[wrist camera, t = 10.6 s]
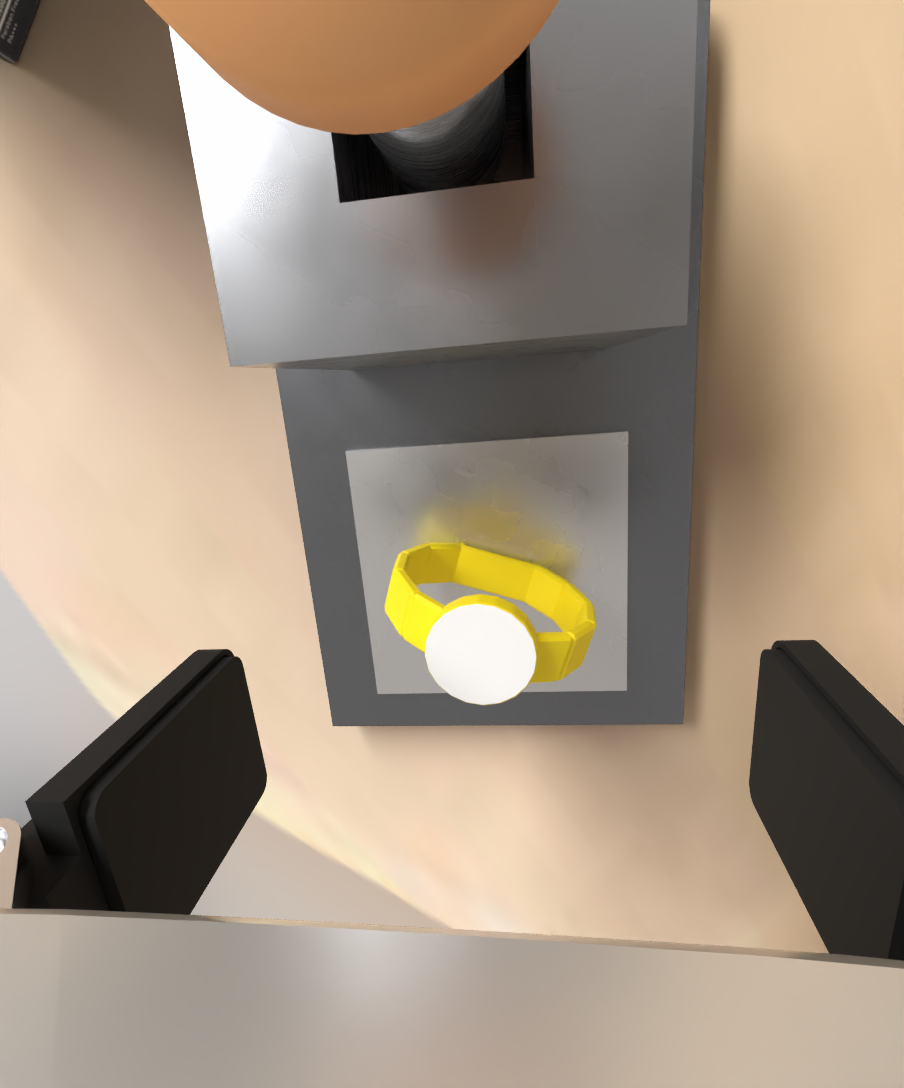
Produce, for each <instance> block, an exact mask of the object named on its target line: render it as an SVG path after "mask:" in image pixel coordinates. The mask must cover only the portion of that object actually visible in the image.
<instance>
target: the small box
mask: <svg viewBox="0 0 904 1088" xmlns="http://www.w3.org/2000/svg"><path fill="white" fill-rule="evenodd" d="M39 1H40V0H0V58H2V59H3V60H5V61H7V62H9V63H13V62H16V61H17V59H18V57H19V54H20V51H21V49H22V46H23V44H24V41H25V38H26V35H27V33H28V30H29V27H30V25H31V23H32V20H33V17H34V14H35V12H36V9H37V6H38V3H39Z"/></svg>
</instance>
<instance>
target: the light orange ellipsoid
mask: <svg viewBox="0 0 904 1088" xmlns="http://www.w3.org/2000/svg"><path fill="white" fill-rule="evenodd" d="M144 1H145V2H146V3H147V4H148V5H149V6H150V7H151V8H152V9H153V10H154V11H155V12H156V13H157V14H158V15H159V16H160V17H161V18H162V19H163V20H164V21H165V22H166V23H167V24H168V25H169V26H170V27H171V28H172V29H173V30H174V31H175V32H176V33H177V34H178V35H179V36H180V37H181V38H182V39H183V40H184V41H185V42H186V43H187V44H188V45H189V46H190V47H191V48H192V49H193V50H194V51H195V52H196V53H197V54H198V55H199V56H200V57H201V58H202V59H203V60H204V61H205V62H206V63H207V64H208V65H209V66H210V67H211V68H212V69H213V70H214V71H215V72H216V73H217V74H218V75H219V76H220V77H221V78H222V79H223V80H224V81H225V82H227V83H228V84H229V85H230V86H232V87H233V88H234V89H235V90H237V91H238V92H239V93H240V94H241V95H243V96H244V97H245V98H247V99H248V100H250V101H252V102H253V103H255V104H257V105H258V106H260V107H262V108H263V109H265V110H267V111H268V112H270V113H272V114H274V115H276V116H279V117H281V118H284V119H286V120H288V121H291V122H293V123H295V124H298V125H301V126H305V127H309V128H313V129H317V130H321V131H325V132H333V133H344V134H355V135H356V134H369V136H370V137H371V139H372V140H373V142H374V144H375V145H376V147H377V149H378V150H379V152H380V154H381V155H382V157H383V158H384V160H385V162H386V163H387V165H388V167H389V168H390V170H391V172H392V173H393V175H394V176H395V178H396V180H397V181H398V183H399V184H400V185H401V187H402V188H403V189H404V190H405V191H406V192H407V193H408V194H415V193H422V192H430V191H438V190H446V189H454V188H462V187H469V186H477V185H485V184H490V183H491V181H492V180H493V178H494V177H495V175H496V173H497V171H498V169H499V167H500V165H501V162H502V159H503V156H504V151H505V146H506V109H505V84H504V71H505V70H506V69H507V68H508V67H509V66H510V65H511V64H512V63H513V62H514V61H515V60H516V59H517V58H518V57H519V56H520V55H521V53H522V52H523V51H524V50H525V48H526V47H527V46H528V45H529V43H530V42H531V41H532V40H533V38H534V37H535V36H536V35H537V33H538V32H539V31H540V30H541V28H542V27H543V26H544V24H545V22H546V21H547V19H548V18H549V16H550V14H551V13H552V11H553V10H554V8H555V6H556V5H557V3H558V2H559V0H144Z"/></svg>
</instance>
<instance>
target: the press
mask: <svg viewBox="0 0 904 1088" xmlns="http://www.w3.org/2000/svg"><path fill="white" fill-rule="evenodd" d="M709 19H710V0H559V2H558V3H557V5H556V6H555V8H554V10H553V11H552V13H551V14H550V16H549V18H548V19H547V21H546V22H545V24H544V26H543V27H542V28H541V30H540V31H539V32H538V33H537V35H536V36H535V37H534V38H533V40H532V41H531V42H530V43H529V45H528V46H527V47H526V48H525V50H524V51H523V52H522V53H521V55H520V56H519V57H518V58H517V59H516V60H515V61H514V62H513V63H512V64H511V65H510V66H509V67H508V68H507V69H506V70H505V71H504V84H505V109H506V146H505V151H504V156H503V159H502V162H501V165H500V167H499V169H498V171H497V173H496V175H495V177H494V178H493V180H492V181H491V183H490V184H485V185H477V186H469V187H462V188H454V189H446V190H438V191H430V192H422V193H415V194H408V193H407V192H406V191H405V190H404V189H403V188H402V187H401V185H400V184H399V183H398V181H397V180H396V178H395V176H394V175H393V173H392V172H391V170H390V168H389V167H388V165H387V163H386V162H385V160H384V158H383V157H382V155H381V154H380V152H379V150H378V149H377V147H376V145H375V144H374V142H373V140H372V139H371V137H370V136H369V134H356V135H355V134H344V133H333V132H325V131H321V130H317V129H313V128H309V127H305V126H301V125H298V124H295V123H293V122H291V121H288V120H286V119H284V118H281V117H279V116H276V115H274V114H272V113H270V112H268V111H267V110H265V109H263V108H262V107H260V106H258V105H257V104H255V103H253V102H252V101H250V100H248V99H247V98H245V97H244V96H243V95H241V94H240V93H239V92H238V91H237V90H235V89H234V88H233V87H232V86H230V85H229V84H228V83H227V82H225V81H224V80H223V79H222V78H221V77H220V76H219V75H218V74H217V73H216V72H215V71H214V70H213V69H212V68H211V67H210V66H209V65H208V64H207V63H206V62H205V61H204V60H203V59H202V58H201V57H200V56H199V55H198V54H197V53H196V52H195V51H194V50H193V49H192V48H191V47H190V46H189V45H188V44H187V43H186V42H185V41H184V40H183V39H182V38H181V37H180V36H179V35H178V34H177V33H176V32H175V31H174V30H173V29H172V28H171V27H170V26H169V28H170V34H171V39H172V45H173V50H174V56H175V61H176V67H177V72H178V78H179V83H180V89H181V95H182V100H183V106H184V111H185V117H186V122H187V128H188V133H189V139H190V144H191V150H192V155H193V161H194V166H195V172H196V177H197V183H198V189H199V194H200V200H201V205H202V211H203V216H204V222H205V227H206V233H207V238H208V244H209V249H210V255H211V260H212V266H213V271H214V277H215V282H216V288H217V294H218V299H219V305H220V310H221V316H222V321H223V327H224V332H225V338H226V343H227V349H228V354H229V360H230V365H231V367H253V368H276V373H277V379H278V385H279V392H280V398H281V404H282V410H283V417H284V423H285V429H286V435H287V442H288V448H289V454H290V460H291V467H292V473H293V479H294V485H295V492H296V498H297V504H298V510H299V517H300V523H301V529H302V535H303V542H304V548H305V554H306V560H307V567H308V573H309V579H310V585H311V592H312V598H313V604H314V610H315V617H316V623H317V629H318V635H319V642H320V648H321V654H322V660H323V667H324V673H325V679H326V686H327V692H328V698H329V704H330V711H331V717H332V723H333V726H440V725H606V724H683V714H684V687H685V660H686V634H687V607H688V580H689V553H690V527H691V500H692V473H693V447H694V420H695V393H696V366H697V340H698V313H699V286H700V259H701V233H702V206H703V179H704V153H705V126H706V99H707V72H708V46H709ZM460 542H462V543H465V545H466V546H470V547H474V548H477V549H481V550H485V551H488V552H492V553H496V554H499V555H503V556H507V557H510V558H514V559H518V560H522V561H525V562H529V563H533V564H536V565H541V566H543V567H545V568H547V569H548V570H550V571H552V572H554V573H555V574H557V575H559V576H561V577H563V578H564V579H566V580H568V581H569V583H572V584H573V585H574V586H575V587H576V588H577V589H578V590H579V591H580V592H581V593H582V594H583V595H584V596H585V597H586V598H587V599H589V600H590V601H591V603H592V605H593V606H594V609H595V616H596V624H597V626H596V628H595V631H594V634H593V636H592V639H591V642H590V644H589V647H588V650H587V652H586V655H585V658H584V660H583V663H582V665H581V666H580V667H578V668H577V669H576V670H574V671H573V672H571V673H570V674H569V675H567V676H566V677H564V678H563V679H561V680H557V681H554V682H541V683H529V685H528V686H527V687H526V688H525V689H524V690H523V691H522V692H521V693H519V694H518V695H517V696H516V697H514V698H512V699H509V700H507V701H505V702H502V703H499V704H490V705H479V704H472V703H467V702H464V701H462V700H460V699H458V698H455V697H453V696H451V695H450V694H448V693H447V692H446V691H445V690H444V689H443V688H441V687H440V686H439V685H438V684H437V683H436V681H435V679H434V678H433V676H432V675H431V673H430V672H429V669H428V666H427V662H426V658H425V653H424V652H422V651H421V650H419V649H418V648H416V647H415V646H413V645H412V644H410V643H408V642H407V641H405V639H404V637H401V636H400V634H399V633H398V631H397V630H396V628H395V626H394V625H393V623H392V622H391V620H390V618H389V617H388V615H387V614H386V612H385V608H384V607H385V602H386V598H387V593H388V589H389V585H390V580H391V576H392V572H393V568H394V565H395V562H396V560H397V557H398V554H400V553H401V552H402V551H404V550H407V549H410V548H413V547H416V546H418V545H421V544H424V543H425V544H427V543H459V544H460ZM416 587H417V588H418V589H419V590H420V592H422V593H424V594H425V595H427V596H429V597H431V598H432V599H434V600H436V601H437V602H439V603H441V604H443V605H444V606H446V605H447V604H449V603H451V602H453V601H455V600H457V599H459V598H461V597H463V596H469V595H476V594H484V595H491V596H497V597H500V598H502V599H504V600H506V601H509V602H511V603H513V604H514V605H516V606H517V607H518V608H519V609H520V610H521V611H522V612H523V613H525V614H526V615H527V617H528V618H529V620H530V622H531V624H532V625H533V627H534V629H535V631H536V632H563V631H562V630H561V629H560V628H559V627H558V625H557V624H556V623H555V622H554V620H552V619H550V618H549V617H547V616H545V615H544V614H542V613H541V612H539V611H538V610H536V609H534V608H533V607H531V606H530V605H528V604H526V603H525V602H523V601H519V600H515V599H512V598H508V597H504V596H501V595H497V594H493V593H489V592H486V591H482V590H478V589H475V588H471V587H467V586H464V585H460V584H456V583H453V582H448V583H430V584H419V585H417V586H416Z"/></svg>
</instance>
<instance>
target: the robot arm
mask: <svg viewBox="0 0 904 1088" xmlns="http://www.w3.org/2000/svg"><path fill="white" fill-rule="evenodd" d="M266 782H267V773H266V768H265V763H264V759H263V754H262V750H261V745H260V741H259V736H258V731H257V727H256V722H255V718H254V713H253V709H252V704H251V700H250V695H249V691H248V686H247V682H246V677H245V672H244V668H243V664H242V661H241V660H240V658H238V657H234V655H233V653H232V652H231V651H230V650H228V649H214V650H197V651H196V652H194V653H193V654H192V655H191V656H189V657H188V658H187V659H186V660H185V661H184V662H183V663H182V664H180V665H179V666H178V667H177V668H176V669H175V670H174V671H172V672H171V673H170V674H169V675H168V676H167V677H166V678H165V679H163V680H162V681H161V682H160V683H159V684H158V685H157V686H155V687H154V688H153V689H152V690H151V691H150V692H149V693H148V694H146V695H145V696H144V697H143V698H142V699H141V700H140V701H139V702H137V703H136V704H135V705H134V706H133V707H132V708H131V709H129V710H128V711H127V712H126V713H125V714H124V715H123V716H122V717H120V718H119V719H118V720H117V721H116V722H115V723H114V724H113V725H111V726H110V727H109V728H108V729H107V730H106V731H105V732H103V733H102V734H101V735H100V736H99V737H98V738H97V739H96V740H95V741H93V742H92V743H91V744H90V745H89V746H88V747H87V748H85V749H84V750H83V751H82V752H81V753H80V754H79V755H77V756H76V757H75V758H74V759H73V760H72V761H71V762H70V763H68V764H67V765H66V766H65V767H64V768H63V769H62V770H60V771H59V772H58V773H57V774H56V775H55V776H54V777H53V778H51V779H50V780H49V781H48V782H47V783H46V784H45V785H44V786H42V787H41V788H40V789H39V790H38V791H37V792H36V793H34V794H33V795H32V796H31V797H30V798H29V799H28V800H27V801H25V802H26V804H27V807H28V810H29V812H30V815H31V818H32V819H31V820H30V821H29V822H28V823H27V824H26V825H25V826H24V827H23V828H22V829H21V827H20V825H19V824H18V823H17V822H15V821H14V820H12V819H7V818H0V1088H904V725H903V724H902V723H901V722H899V721H898V720H897V719H896V718H895V717H894V716H893V715H892V714H891V713H890V712H889V711H888V710H887V709H886V708H885V707H884V706H883V705H882V704H881V703H880V702H879V701H878V700H877V699H876V698H875V697H874V696H873V695H872V694H871V693H870V692H869V691H868V690H867V689H866V688H865V687H864V686H862V685H861V684H860V683H859V682H858V681H857V680H856V679H855V678H854V677H853V676H852V675H851V674H850V673H849V672H848V671H847V670H846V669H845V668H844V667H843V666H842V665H841V664H840V663H839V662H838V661H837V660H836V659H835V658H834V657H833V656H832V655H831V654H830V653H829V652H828V651H826V650H825V649H824V648H823V647H822V646H821V645H820V644H819V643H818V642H817V641H815V640H790V641H776V642H774V644H773V646H772V649H765V650H763V651H762V654H761V658H760V668H759V679H758V690H757V701H756V712H755V723H754V734H753V745H752V756H751V767H750V778H749V787H750V794H751V798H752V802H753V804H754V806H755V809H756V810H757V812H758V814H759V816H760V818H761V820H762V822H763V824H764V826H765V828H766V830H767V832H768V834H769V836H770V838H771V840H772V842H773V844H774V846H775V848H776V850H777V852H778V854H779V856H780V858H781V860H782V862H783V864H784V865H785V867H786V869H787V871H788V873H789V875H790V877H791V879H792V881H793V883H794V885H795V887H796V889H797V891H798V893H799V895H800V897H801V899H802V901H803V903H804V905H805V907H806V909H807V911H808V913H809V915H810V917H811V919H812V920H813V922H814V924H815V926H816V928H817V930H818V932H819V934H820V936H821V938H822V940H823V942H824V944H825V946H826V948H827V950H828V952H829V954H828V953H812V952H797V951H782V950H769V949H757V948H744V947H730V946H715V945H699V944H683V943H667V942H652V941H636V940H620V939H605V938H589V937H573V936H558V935H542V934H526V933H509V932H492V931H475V930H458V929H441V928H440V929H439V928H422V927H406V926H388V925H370V924H351V923H335V922H334V923H333V922H317V921H299V920H298V921H297V920H279V919H259V918H240V917H220V916H201V915H200V916H199V915H190V913H191V912H192V910H193V909H194V907H195V905H196V904H197V902H198V900H199V899H200V897H201V895H202V894H203V892H204V890H205V889H206V887H207V885H208V884H209V882H210V881H211V879H212V877H213V876H214V874H215V872H216V871H217V869H218V867H219V866H220V864H221V862H222V861H223V859H224V857H225V856H226V854H227V852H228V851H229V849H230V847H231V846H232V844H233V843H234V841H235V839H236V838H237V836H238V834H239V833H240V831H241V829H242V828H243V826H244V824H245V823H246V821H247V819H248V818H249V816H250V814H251V813H252V811H253V810H254V808H255V806H256V805H257V803H258V801H259V800H260V798H261V796H262V795H263V792H264V790H265V787H266Z"/></svg>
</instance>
